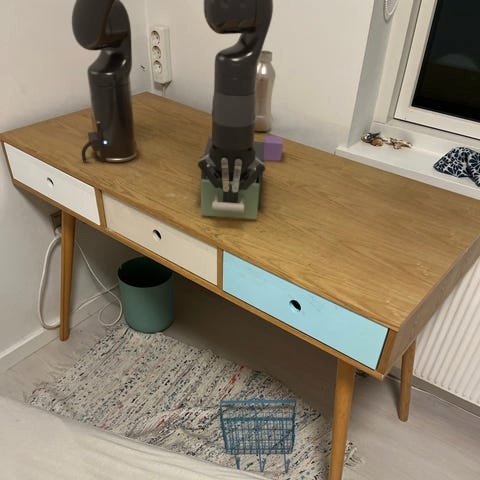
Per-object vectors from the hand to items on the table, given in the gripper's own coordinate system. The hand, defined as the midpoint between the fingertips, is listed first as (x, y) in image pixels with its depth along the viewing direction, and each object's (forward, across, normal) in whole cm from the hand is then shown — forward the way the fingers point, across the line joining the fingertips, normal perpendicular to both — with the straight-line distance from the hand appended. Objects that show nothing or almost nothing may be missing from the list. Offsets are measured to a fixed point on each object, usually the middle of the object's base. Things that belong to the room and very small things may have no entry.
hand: (230, 207), depth 99 cm
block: (+4, -9, -36) cm, 38 cm away
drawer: (+4, 0, -7) cm, 7 cm away
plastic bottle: (+5, -5, -55) cm, 55 cm away
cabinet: (+4, 0, -15) cm, 16 cm away
